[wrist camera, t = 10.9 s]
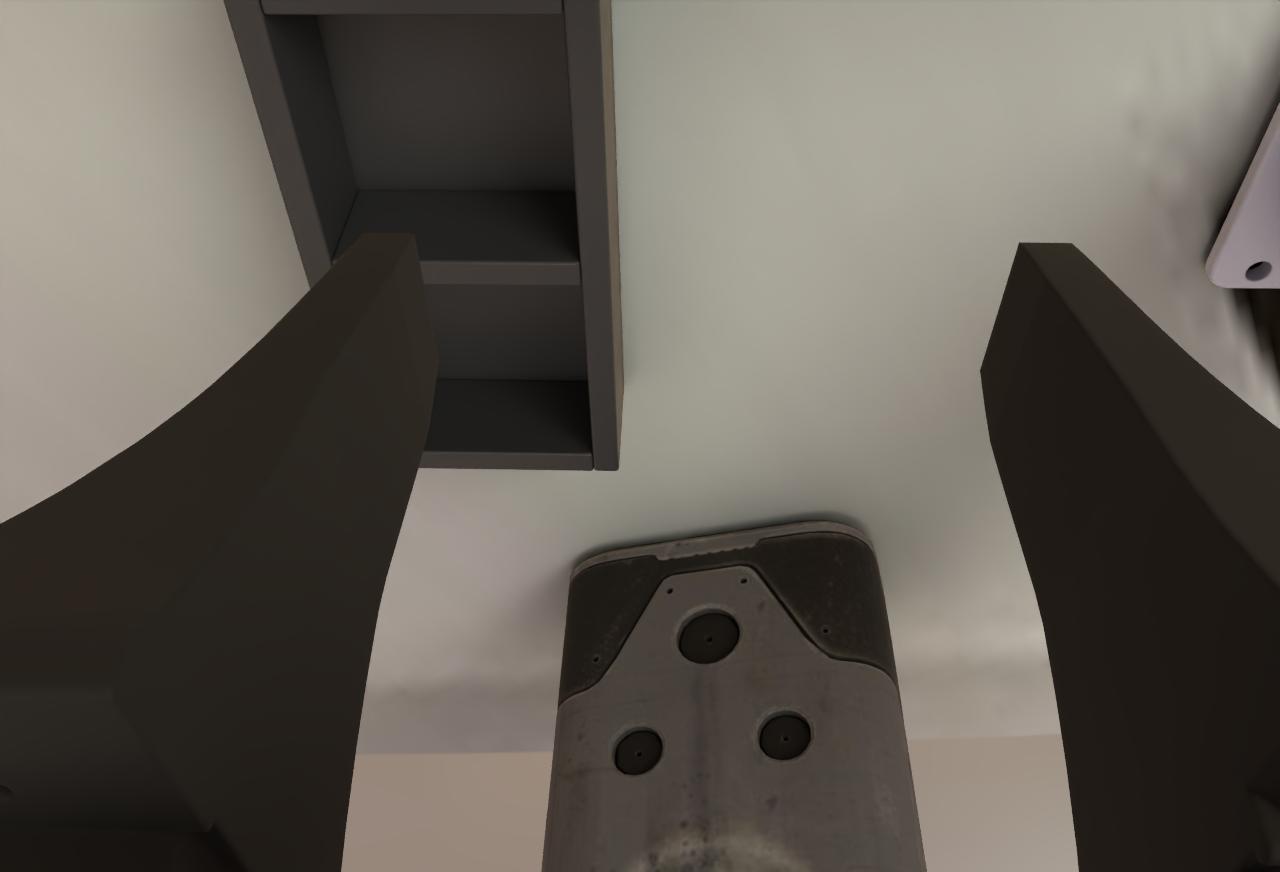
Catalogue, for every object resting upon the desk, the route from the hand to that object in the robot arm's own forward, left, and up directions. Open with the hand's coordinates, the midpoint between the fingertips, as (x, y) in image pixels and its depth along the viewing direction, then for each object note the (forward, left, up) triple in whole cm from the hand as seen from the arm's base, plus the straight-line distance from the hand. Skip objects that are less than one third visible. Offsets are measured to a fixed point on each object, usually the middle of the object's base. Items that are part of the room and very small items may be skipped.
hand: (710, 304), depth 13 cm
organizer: (+5, +5, -9) cm, 12 cm away
